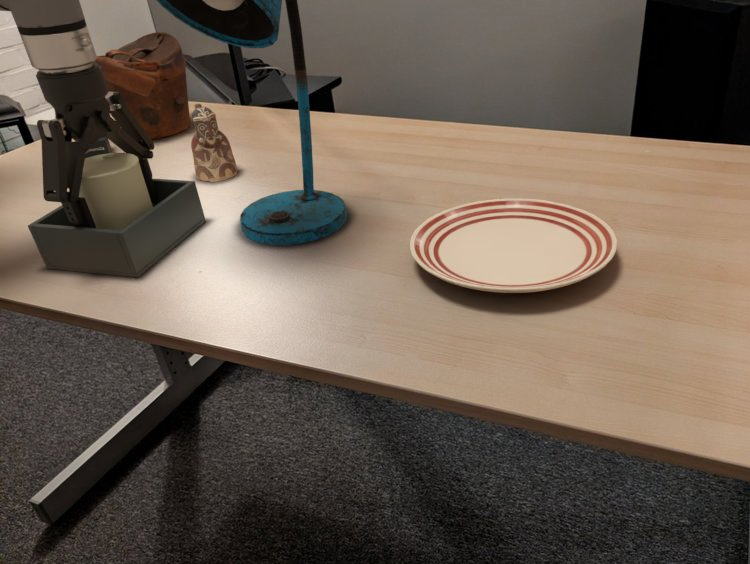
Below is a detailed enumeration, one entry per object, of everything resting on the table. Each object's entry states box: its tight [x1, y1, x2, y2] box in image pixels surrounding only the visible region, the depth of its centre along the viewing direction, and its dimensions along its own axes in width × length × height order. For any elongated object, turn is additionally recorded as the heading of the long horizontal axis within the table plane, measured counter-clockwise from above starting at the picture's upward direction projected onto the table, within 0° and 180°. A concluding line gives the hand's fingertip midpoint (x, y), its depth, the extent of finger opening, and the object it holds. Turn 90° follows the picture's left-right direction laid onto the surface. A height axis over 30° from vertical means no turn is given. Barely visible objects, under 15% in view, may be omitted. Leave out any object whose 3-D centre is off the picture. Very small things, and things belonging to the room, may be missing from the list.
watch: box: [74, 137, 112, 158], centre depth 125 cm, size 6×8×11 cm
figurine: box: [190, 103, 238, 183], centre depth 114 cm, size 7×7×12 cm
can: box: [79, 152, 153, 231], centre depth 92 cm, size 9×9×12 cm
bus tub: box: [27, 178, 207, 278], centre depth 94 cm, size 15×18×7 cm
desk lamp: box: [156, 0, 348, 246], centre depth 86 cm, size 16×22×45 cm
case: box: [94, 31, 191, 140], centre depth 134 cm, size 18×20×18 cm
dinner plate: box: [409, 197, 618, 294], centre depth 88 cm, size 28×27×3 cm
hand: (122, 221), depth 94 cm, fingers open, 13 cm apart
